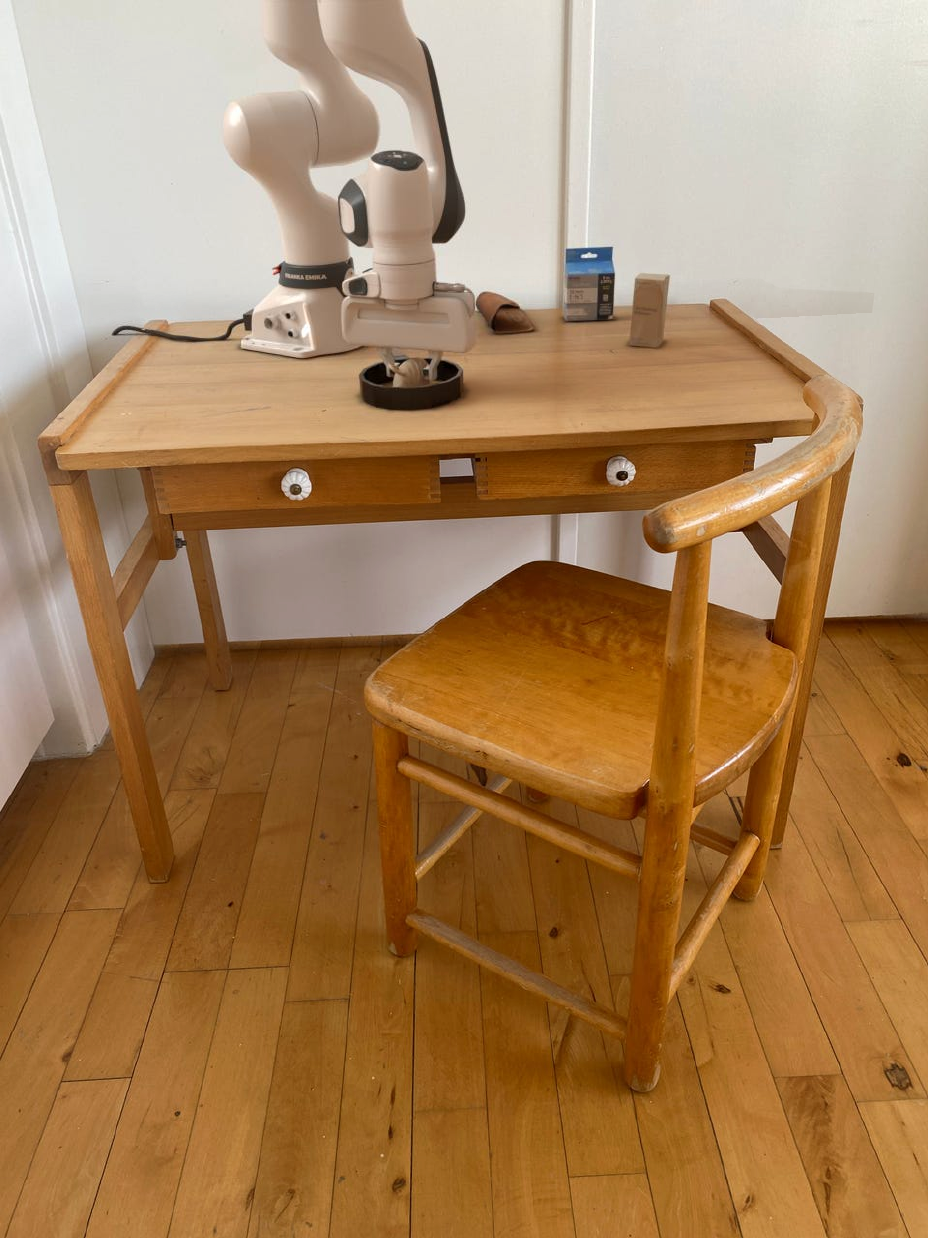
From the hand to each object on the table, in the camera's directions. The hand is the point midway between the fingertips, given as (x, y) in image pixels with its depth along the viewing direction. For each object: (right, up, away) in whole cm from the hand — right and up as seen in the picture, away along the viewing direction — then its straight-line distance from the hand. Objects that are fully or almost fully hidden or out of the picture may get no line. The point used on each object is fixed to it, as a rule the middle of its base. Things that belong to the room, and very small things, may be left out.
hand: (411, 377), depth 137 cm
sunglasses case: (+15, +20, +36) cm, 44 cm away
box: (+39, +11, +20) cm, 45 cm away
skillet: (-1, +1, +6) cm, 6 cm away
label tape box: (+31, +20, +35) cm, 51 cm away
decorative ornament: (0, -2, +1) cm, 3 cm away
